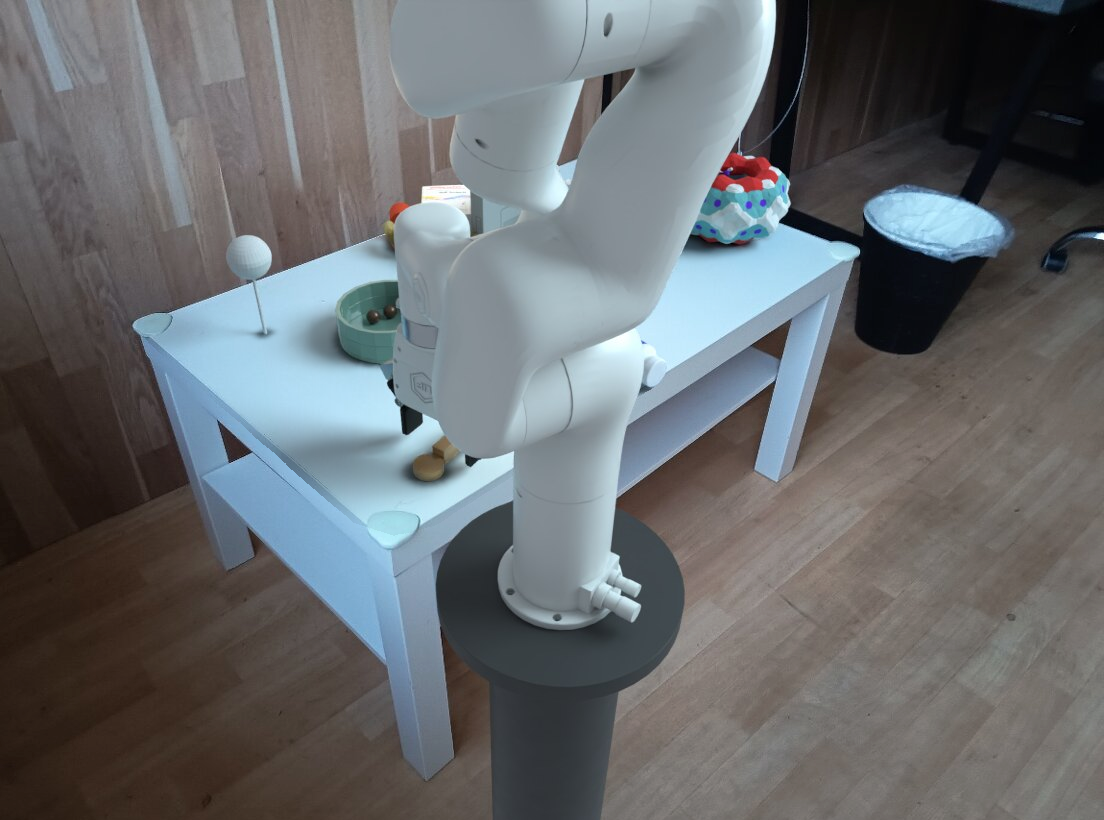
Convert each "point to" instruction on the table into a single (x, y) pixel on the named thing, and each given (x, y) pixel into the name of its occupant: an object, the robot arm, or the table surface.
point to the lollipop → (250, 262)
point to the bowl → (357, 331)
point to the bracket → (396, 212)
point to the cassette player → (491, 215)
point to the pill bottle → (652, 366)
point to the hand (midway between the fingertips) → (443, 443)
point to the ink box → (449, 197)
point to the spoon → (434, 460)
